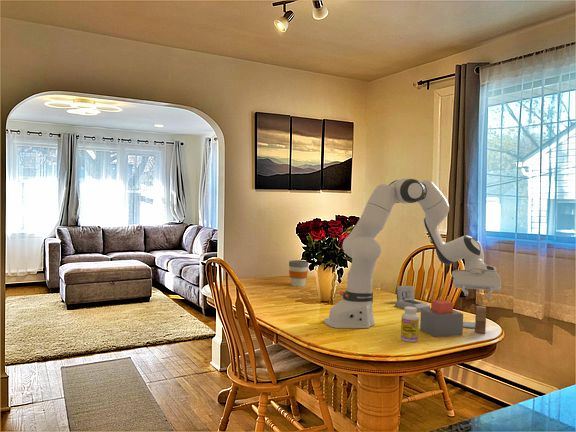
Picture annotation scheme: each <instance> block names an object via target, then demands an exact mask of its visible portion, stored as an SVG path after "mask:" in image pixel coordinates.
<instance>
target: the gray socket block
mask: <svg viewBox="0 0 576 432" xmlns="http://www.w3.org/2000/svg"><path fill="white" fill-rule="evenodd" d="M463 322H464V313H462V312H460V311H457V310H455V309H453V313H441V314H439V313H437V312H434V311H432V310H431V307H430V308H429V309H421V312H420V317H419V324H420V325H419V326H420V327H419V330H420V331H422V332H423V333H426V334H427V335H430V336H432V337H434V338H443V337H444V338H445V337H458V336H459V337H460V336H464V335H463V331H464V328H463Z"/></svg>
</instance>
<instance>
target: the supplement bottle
mask: <svg viewBox="0 0 576 432" xmlns="http://www.w3.org/2000/svg"><path fill="white" fill-rule="evenodd" d="M403 310H404V312H403V313H402V314H401V321H400V339H401V340H402V341H403V342H407V343H416V342H418V341H419V330H420V327H419V326H420V325H419V324H420V316H419V314H417V312H416V311H417V308H416V307H410V306H407V307H405V308H404V309H403Z"/></svg>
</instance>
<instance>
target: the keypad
mask: <svg viewBox="0 0 576 432" xmlns="http://www.w3.org/2000/svg"><path fill="white" fill-rule="evenodd" d="M414 300H415V299H414ZM414 300H410V299H406V300H398V301H397V300H396V301H395V302H394V307H396V308H399V309H403V310H404V308H405V307H407V306H410V307H416V308H417V311H416V313H421V309H429V308H431V305H429V304H427V303H425V302H423V301H422V302H421V301H417V300H415V301H414Z"/></svg>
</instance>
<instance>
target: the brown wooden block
mask: <svg viewBox="0 0 576 432" xmlns="http://www.w3.org/2000/svg"><path fill="white" fill-rule="evenodd" d="M474 317H475V320H474V321H475V329H474V332H475V334H479V335H480V334H482V335H483V334H484V335H485V334H486V329H487V327H486V326H487V323H486V322H487V307H486V306H485V305H475V316H474Z"/></svg>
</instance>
